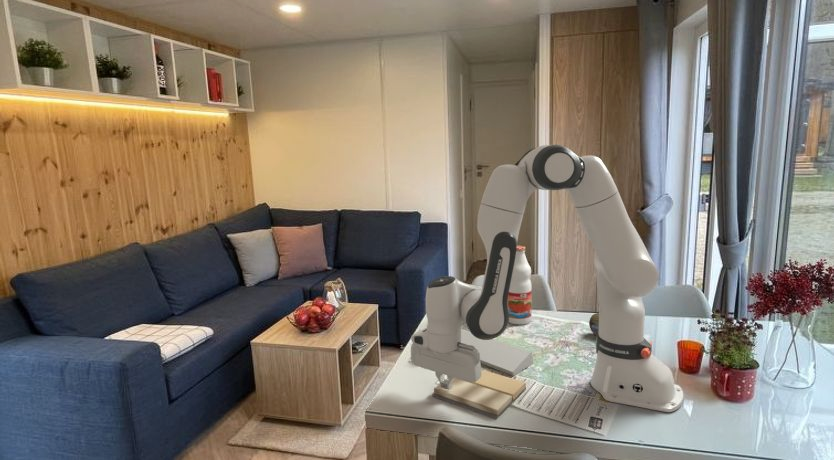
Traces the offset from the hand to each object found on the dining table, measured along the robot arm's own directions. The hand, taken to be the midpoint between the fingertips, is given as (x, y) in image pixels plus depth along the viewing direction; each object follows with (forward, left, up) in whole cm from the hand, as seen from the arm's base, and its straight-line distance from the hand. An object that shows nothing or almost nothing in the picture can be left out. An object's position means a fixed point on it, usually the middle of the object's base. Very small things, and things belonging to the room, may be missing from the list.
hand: (446, 387), depth 127 cm
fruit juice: (+7, -59, -3) cm, 60 cm away
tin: (-26, -60, -3) cm, 66 cm away
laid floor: (-6, -7, -3) cm, 10 cm away
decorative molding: (+6, -27, -4) cm, 28 cm away
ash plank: (-6, -3, -2) cm, 7 cm away
